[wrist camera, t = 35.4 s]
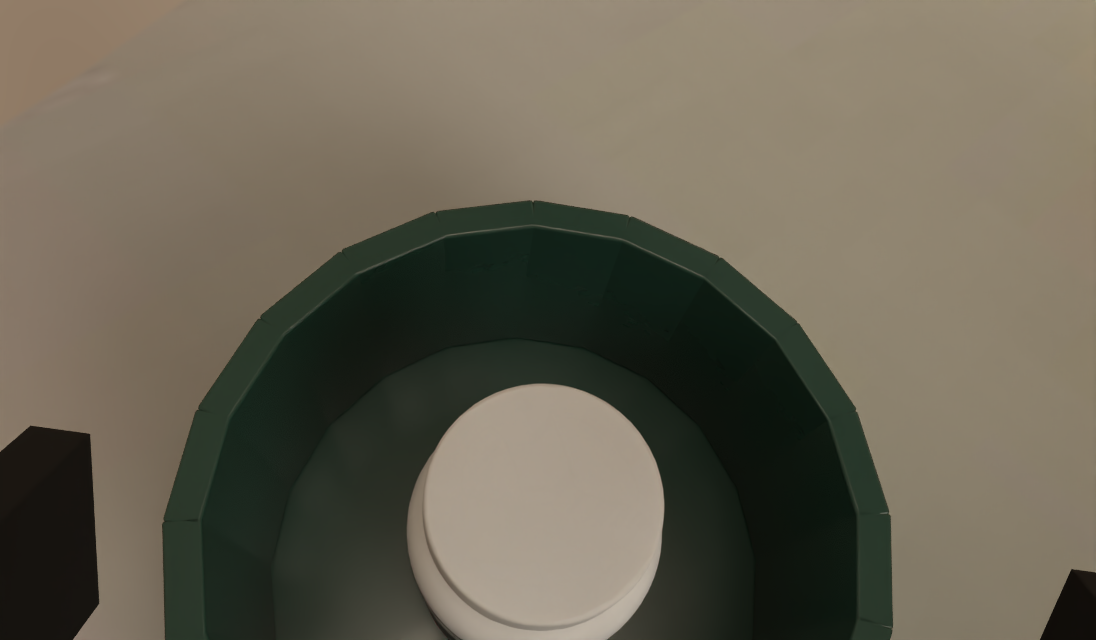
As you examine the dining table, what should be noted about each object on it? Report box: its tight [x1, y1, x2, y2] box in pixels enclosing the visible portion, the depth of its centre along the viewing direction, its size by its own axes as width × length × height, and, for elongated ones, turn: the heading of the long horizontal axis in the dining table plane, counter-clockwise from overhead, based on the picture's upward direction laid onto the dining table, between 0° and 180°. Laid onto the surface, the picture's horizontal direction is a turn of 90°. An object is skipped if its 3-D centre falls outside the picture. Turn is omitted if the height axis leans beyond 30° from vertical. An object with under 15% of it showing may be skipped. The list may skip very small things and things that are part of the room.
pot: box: [162, 200, 893, 640], centre depth 23 cm, size 16×16×8 cm
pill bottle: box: [407, 384, 664, 640], centre depth 22 cm, size 6×6×10 cm
